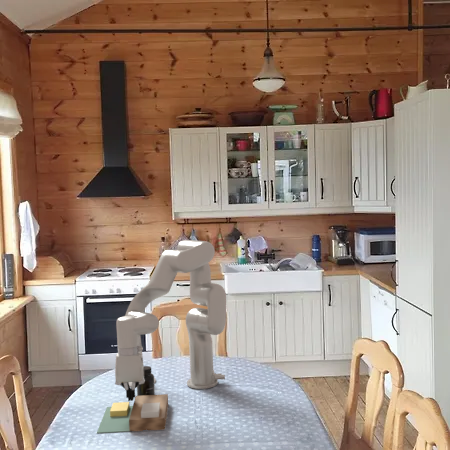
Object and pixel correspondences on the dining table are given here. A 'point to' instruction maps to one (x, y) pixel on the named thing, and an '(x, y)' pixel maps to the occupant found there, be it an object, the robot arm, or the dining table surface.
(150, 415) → the white flat block
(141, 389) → the supplement bottle
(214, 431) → the dining table surface
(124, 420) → the mat
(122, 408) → the yellow rectangular block
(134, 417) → the board
